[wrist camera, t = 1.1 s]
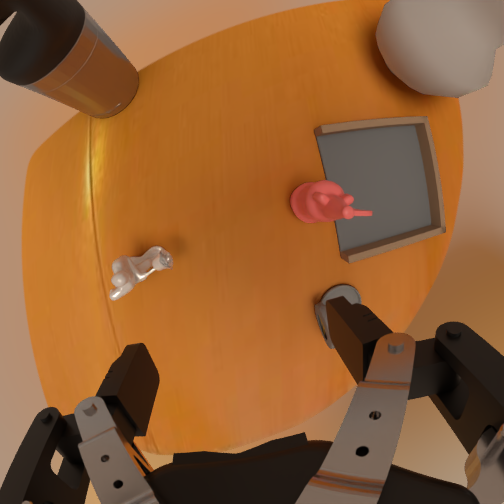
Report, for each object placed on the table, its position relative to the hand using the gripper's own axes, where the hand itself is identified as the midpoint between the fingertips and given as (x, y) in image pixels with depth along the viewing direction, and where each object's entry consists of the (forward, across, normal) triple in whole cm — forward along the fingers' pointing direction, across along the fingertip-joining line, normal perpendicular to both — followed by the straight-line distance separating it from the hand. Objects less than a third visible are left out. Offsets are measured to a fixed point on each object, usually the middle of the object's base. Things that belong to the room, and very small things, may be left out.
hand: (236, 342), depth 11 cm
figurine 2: (+26, -11, -2) cm, 28 cm away
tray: (+26, -23, -2) cm, 34 cm away
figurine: (+26, +11, +1) cm, 29 cm away
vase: (+26, -32, -21) cm, 47 cm away
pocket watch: (+26, -12, +14) cm, 32 cm away
